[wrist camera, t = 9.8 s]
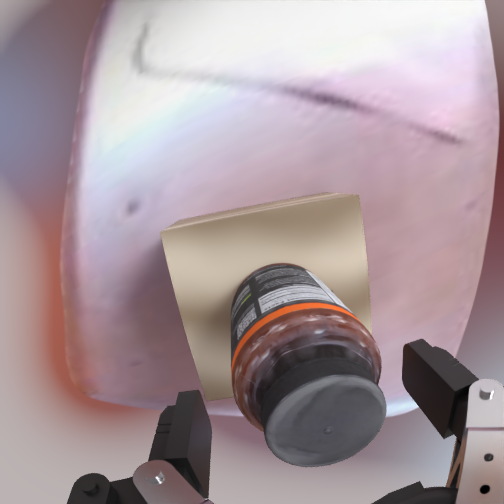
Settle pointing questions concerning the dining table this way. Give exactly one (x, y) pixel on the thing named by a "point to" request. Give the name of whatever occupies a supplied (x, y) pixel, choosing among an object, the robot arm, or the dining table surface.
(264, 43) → the dining table surface
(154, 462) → the robot arm
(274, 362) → the supplement bottle
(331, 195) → the birch block
